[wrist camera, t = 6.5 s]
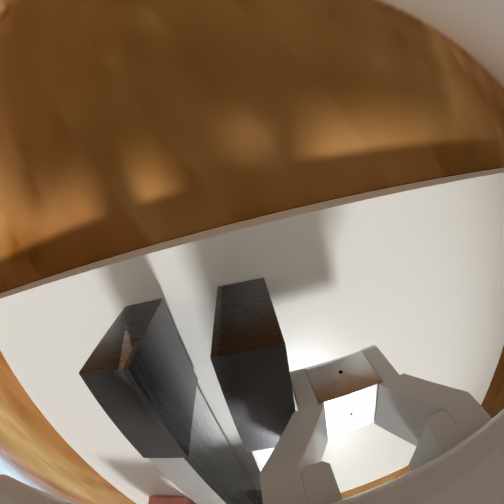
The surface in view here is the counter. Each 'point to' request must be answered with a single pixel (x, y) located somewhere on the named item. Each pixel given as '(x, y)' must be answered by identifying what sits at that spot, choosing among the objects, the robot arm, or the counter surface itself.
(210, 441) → the tongs fixed
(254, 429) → the tongs arm
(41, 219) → the counter surface
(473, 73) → the counter surface
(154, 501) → the lock tab
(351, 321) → the board
